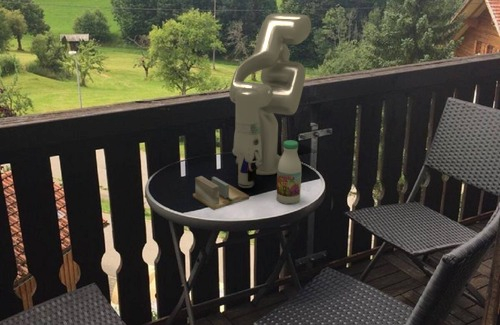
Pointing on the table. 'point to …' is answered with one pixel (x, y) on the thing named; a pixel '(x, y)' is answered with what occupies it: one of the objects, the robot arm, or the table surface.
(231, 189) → the board
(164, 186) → the table surface
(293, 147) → the milk bottle
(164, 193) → the table surface
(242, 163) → the energy drink
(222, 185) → the grey rectangular plate
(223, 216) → the table surface
